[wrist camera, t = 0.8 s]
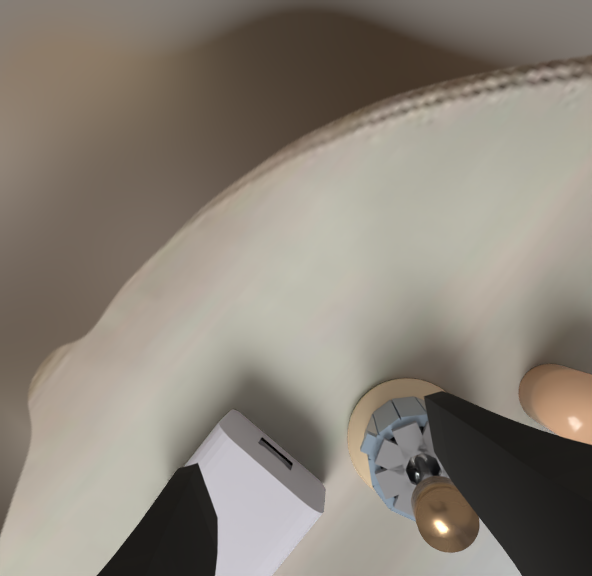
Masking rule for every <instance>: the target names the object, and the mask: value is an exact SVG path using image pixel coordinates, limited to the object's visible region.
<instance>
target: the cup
mask: <svg viewBox="0 0 592 576" xmlns="http://www.w3.org/2000/svg"><path fill="white" fill-rule="evenodd" d="M519 400H520V403H521V406H522V408H523V409H524V411H525V412H526V413H527V415H528V416H530V417H531V418H532V419H534V420H535V421H537V422H538V423H540V424H541V425H543V426H545V427H546V428H548V429H549V430H551V431H553V432H554V433H556V434H557V435H559V436H561V437H565V438H568V439H572V440H575V441H579V442H583V443H587V444H591V445H592V375H591V374H588V373H585V372H581V371H578V370H575V369H571V368H568V367H565V366H561V365H557V364H542V365H539V366H536V367H534V368H532V369H531V370H530V371H528V372H527V373H526V374H525V376H524V377H523V379H522V380H521V383H520V386H519Z"/></svg>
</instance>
